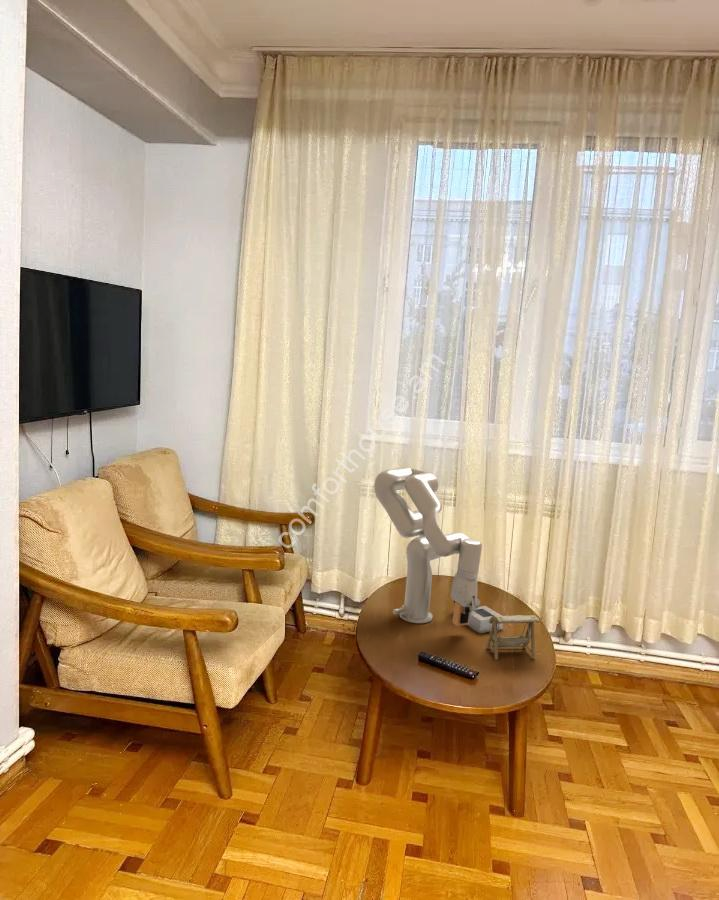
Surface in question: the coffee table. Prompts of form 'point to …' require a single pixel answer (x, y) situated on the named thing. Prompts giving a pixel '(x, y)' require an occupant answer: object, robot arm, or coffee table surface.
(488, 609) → the bracket head
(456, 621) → the orange rectangular block
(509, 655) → the coffee table surface
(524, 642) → the swing bench
